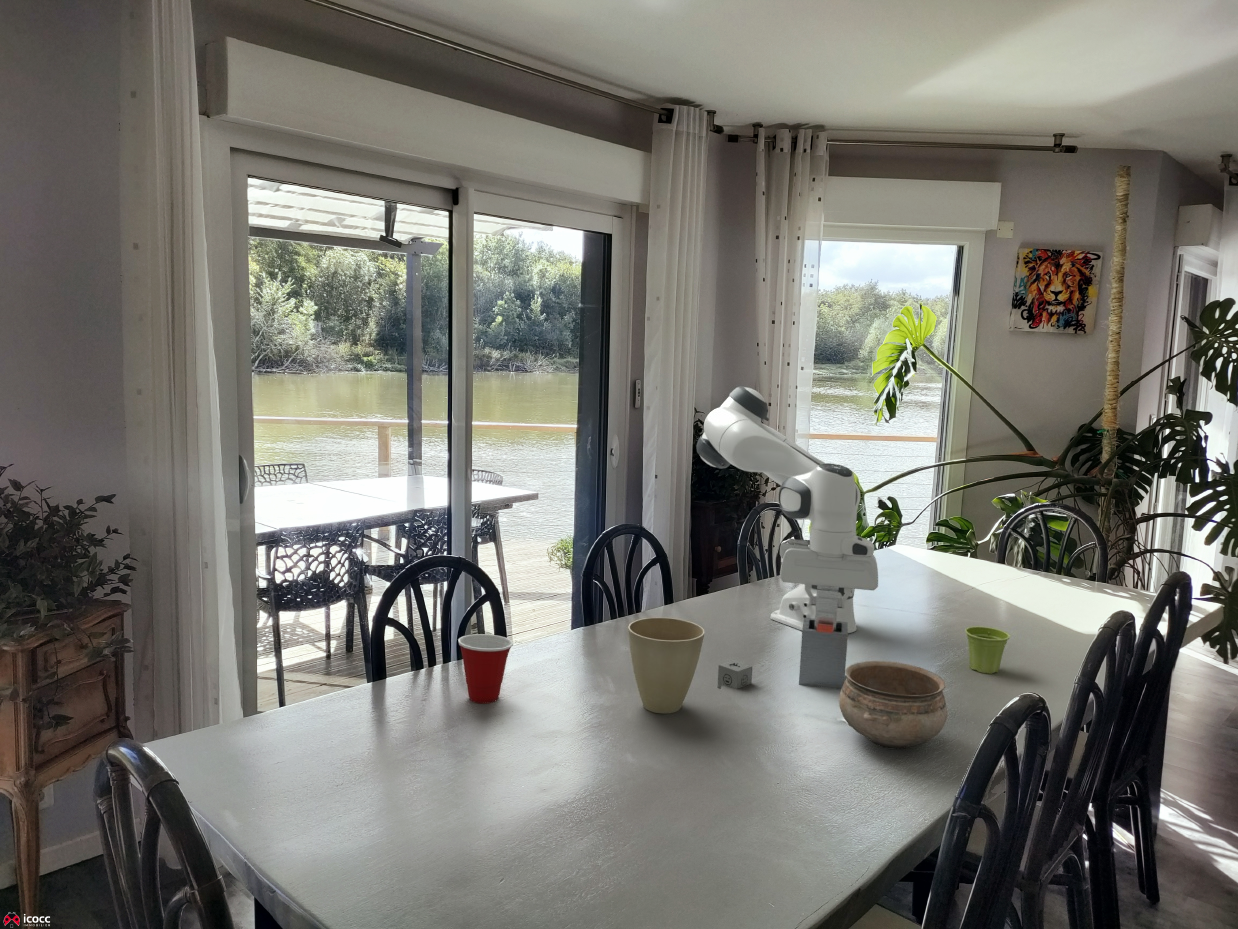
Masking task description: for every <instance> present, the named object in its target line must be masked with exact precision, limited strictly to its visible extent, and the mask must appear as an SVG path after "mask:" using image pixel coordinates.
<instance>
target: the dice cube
mask: <svg viewBox="0 0 1238 929" xmlns="http://www.w3.org/2000/svg"><path fill="white" fill-rule="evenodd" d="M717 671H718V673H717V688H718V689H722V686H723V685H725V686H726V687H727V686H728V687H730V688H733V689H736V690H737V689H741V688H743V687H745V686H748V685H751V684H752V678H753V665H750V664H747V663H745V662H741V661H738V660H736V659H732V660H729V661H726V662H724V663H720V664H718V670H717Z"/></svg>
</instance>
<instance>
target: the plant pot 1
mask: <svg viewBox="0 0 1238 929" xmlns="http://www.w3.org/2000/svg"><path fill="white" fill-rule="evenodd" d="M627 628H628V629H627V630H628V641H629V650H630V658H631V663H632V669H633V674H634V679H635V682H636V685H637V689H638V692H639V697H640V699H641V702H642V706H643V708H644V709H646V710H647V711H649V712H653V713H656V714H665V715H666V714H673V713H676V712H678V711H680V709H681V708H682V706H683V703H684V701H685V699H686V697H687V695H688V692H689V690H690V686H691V684H692V681H693V679H694V676H695V672H696V669H697V666H698V662H699V659H700V655H701V652H702V646H703V642H704V637H705V629H704V628H703V627H702V626H701V625H699V624H697V623H695V622H692V621H688V620H685V619H680V618H673V617H663V616H662V617H661V616H660V617H646V618H640V619H637V620H635V621H632V622H630V623H629V625H628V626H627Z"/></svg>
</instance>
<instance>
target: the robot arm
mask: <svg viewBox="0 0 1238 929" xmlns="http://www.w3.org/2000/svg"><path fill="white" fill-rule="evenodd" d="M728 395H729V396H728V397H727V398H726V399H725V400H724V401H723V403H722V404H721V405H720V406H719V407H716V408H715V409H713V410H712V411H710V412H709V413H708V414H707V416H706V417H705V420H704V423H703V434H702V435H701V436H700V437H699V438H698V441H697V443H696V446H695V447H696V453H697V454H698V455H699V456H700V459H701V460H702V461H703V462H705V463H706V464H707V465H709V466H710V467H713V468H717V469H726V468H728V467H729V466H730V465H732V466H734V467H736V468H737V469H739V470H742V471H744V472H748V473H749V472H751V473H763V474H764V475H766V477H768V478H769V479H771V480H773V481H774V482H775V483H776V484H778V485H779V486H780V488H779V491H778V504H779V508H780V510H781V512H782V513H783V514H784V515H785V516H786V517H787V518H789V519H793V520H798V521H799V520H809V521H810V527H809V539H794V538H788V539H787V540H783V541H782V542H781V544H780V547H779V555H780V557H781V559H782V560H781V565H780V571H779V578H780V580H781V582H783V583H790V584H799V585H798V586H797V587H794V588H793V589H792V590H790V591H789V592H786V593H785V594H784V595H783V597H782V599H781V601H780V605H779V609H777V610H774V611H773V612H772V613H771V614H770V617H769V618H770V620H772V621H773V620H774V621H775V622H778V623H781V624H784V625H787V626H789V627H792V628H794V629H797V630H800V631H802V628H803V622H804V618H812V619H815V611H816V595H817V585H819V586H830V587H839V590H838V606H837V621H841V622H848V634H850V633H853V632H855V631H857V624H856V623H857V622H856V619H855V611H854V597H855V590H863V591H865V590H866V591H875V590H876V589H877V588H878V587H879V570H878V569H879V568H878V562H877V558H876V556H875V554H874V552H875V545H874V543H873V542H872V541H871V540H869V539H866V538H864V537H861V536H858V535H857V520H858V519H857V516H858V514H857V513H858V508H859V505H860V502H861V491H860V488H859V485H857V483H856V479H855V474H854V472H853V471H852V470H851V469H850V468H849V467H847V466H845V465H842V464H835V463H831V462H830V463H827V462H826V463H825V462H824V461H822V460H821V459H819V458H817V457H816V456H814V455H812V454H811V453H809V452H808V451H807V450H805V449H804V448H802V447H801V446H800V445H798V444H797V443H796V442H794V441H793V440H791V439H790V438H788V437H787V436H785V435H784V434H782V433H781V432H779V431H778V430H776V429H775V428H772V427H771V426H769V425H766V424H764V423H762V421H763V420H765V421H766V422H769V420H770V417H768V413H769V406H768V403H767V402H766V399H765V398H764V396H762V394H761V393H760V392H759V391H757V390H755V389H753V388H751V387H746V386H743V385H742V386H737V387H736V388H734V389H733V390H732V391H730V393H729V394H728Z"/></svg>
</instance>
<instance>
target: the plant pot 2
mask: <svg viewBox="0 0 1238 929" xmlns="http://www.w3.org/2000/svg"><path fill="white" fill-rule="evenodd" d="M964 632H965V633H966V639H967V640H968V656H969V659H968V660H969V668H971V669H972V670H975V671H976V672H978V673H981V674H994V673H999V669H1000V666H1001V662H1002V658H1003V657H1002V656H1003V653H1004V652H1005V651H1004V650H1005V646H1006V645H1007V643H1008V640H1009V639H1010V638H1011V636H1010V634H1009V633H1007V632H1006V631H1003V630H1001V629H998V628H993V627H988V626H987V627H986V626H969V627H967V628H965V630H964Z"/></svg>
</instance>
